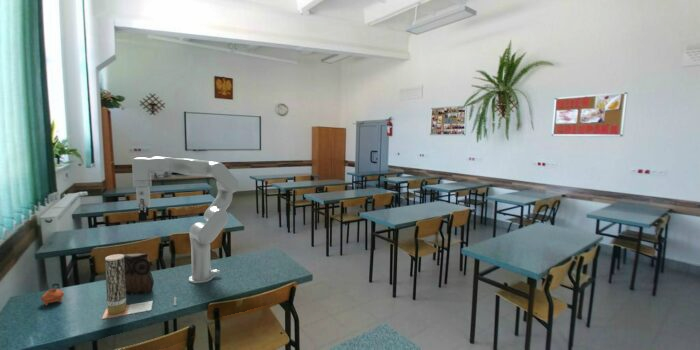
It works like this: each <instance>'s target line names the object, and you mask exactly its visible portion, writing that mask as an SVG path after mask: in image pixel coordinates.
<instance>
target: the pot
mask: <svg viewBox="0 0 700 350" xmlns="http://www.w3.org/2000/svg"><path fill="white" fill-rule="evenodd" d="M64 296H65V292H64V291H63V290H60V289H58V288H52V289H49V290H46V292H45V293H44V294H43V295H41V297H40V300H41V301H42V302H43V303H44V305H45V306H48V305H49V303H51V304H52V303H55V302H59V303H61V302H62V299H63V297H64Z"/></svg>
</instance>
